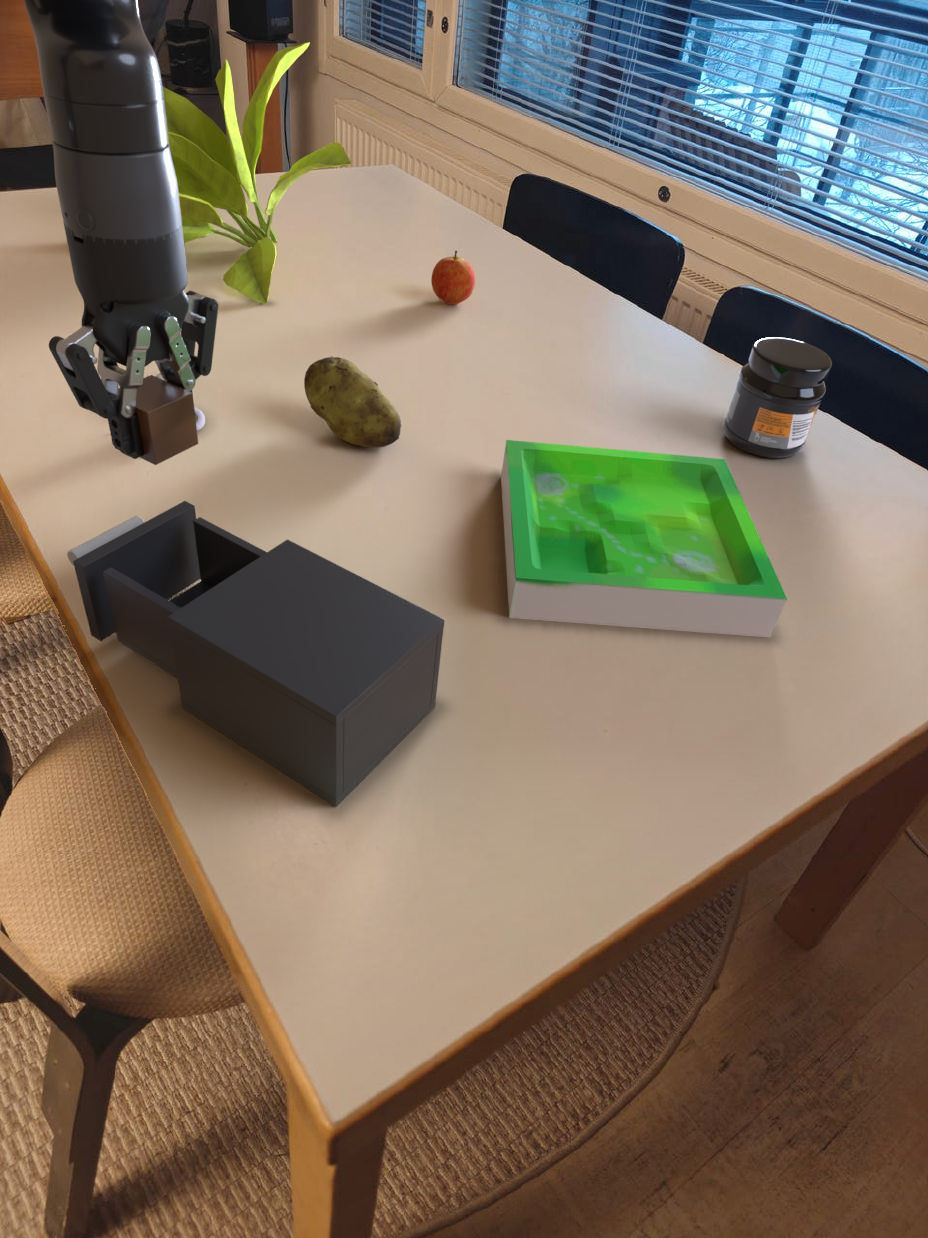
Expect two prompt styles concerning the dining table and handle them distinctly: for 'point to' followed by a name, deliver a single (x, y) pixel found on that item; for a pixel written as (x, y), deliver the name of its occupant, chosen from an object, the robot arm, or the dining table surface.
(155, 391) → the block
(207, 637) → the cabinet
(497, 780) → the dining table surface
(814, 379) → the supplement container
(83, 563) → the drawer
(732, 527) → the tray
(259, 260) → the artificial plant
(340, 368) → the potato
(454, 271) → the fruit
